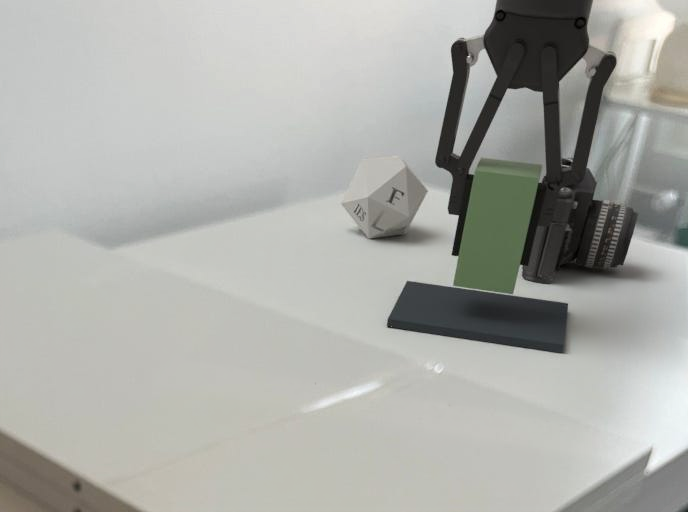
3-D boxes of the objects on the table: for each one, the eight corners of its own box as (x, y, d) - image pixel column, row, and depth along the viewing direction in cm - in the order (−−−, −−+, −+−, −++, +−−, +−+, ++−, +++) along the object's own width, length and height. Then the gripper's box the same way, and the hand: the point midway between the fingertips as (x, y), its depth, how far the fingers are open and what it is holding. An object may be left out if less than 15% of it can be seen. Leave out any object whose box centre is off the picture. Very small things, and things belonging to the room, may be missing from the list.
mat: (566, 311, 102) (568, 303, 101) (562, 353, 93) (564, 344, 92) (405, 288, 105) (406, 280, 105) (386, 326, 96) (387, 318, 96)
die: (325, 239, 121) (365, 178, 112) (339, 183, 124) (378, 121, 115) (389, 268, 123) (433, 211, 114) (401, 213, 126) (444, 154, 117)
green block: (517, 277, 98) (542, 164, 92) (513, 294, 94) (539, 178, 88) (459, 268, 100) (480, 157, 94) (452, 285, 95) (474, 170, 89)
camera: (620, 294, 107) (649, 193, 101) (513, 279, 109) (536, 179, 103) (622, 257, 118) (648, 163, 112) (525, 244, 120) (546, 152, 114)
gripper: (430, -50, 81) (385, 253, 95) (678, -31, 77) (593, 282, 91) (442, -54, 86) (397, 232, 100) (673, -36, 83) (593, 259, 96)
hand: (490, 256), depth 96 cm, fingers closed on green block, 5 cm apart
